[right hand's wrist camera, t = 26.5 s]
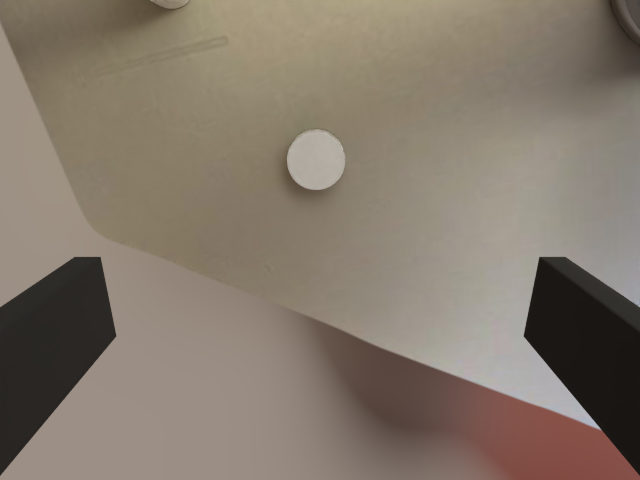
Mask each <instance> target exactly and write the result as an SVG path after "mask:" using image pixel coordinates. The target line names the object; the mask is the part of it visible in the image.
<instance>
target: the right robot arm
mask: <svg viewBox="0 0 640 480" xmlns="http://www.w3.org/2000/svg"><path fill="white" fill-rule="evenodd" d="M610 1H611V4H612V8H613V11H614V14H615V16H616V18H617V20H618V22H619V24H620V25H621V27H622V28H623V30H624V31H625V32H626V33H627V35H628V36H629V37H630V38H631V39H632V40H634V41H635V42H636V43H637V44H639V45H640V0H610ZM115 337H116V333H115V327H114V322H113V317H112V312H111V307H110V302H109V297H108V292H107V287H106V282H105V277H104V272H103V267H102V262H101V258H100V257H74V258H73V259H71V260H70V261H68V262H67V263H65V264H64V265H62V266H61V267H59V268H58V269H56V270H55V271H53V272H52V273H51V274H49V275H48V276H46V277H45V278H43V279H42V280H40V281H39V282H37V283H36V284H34V285H33V286H31V287H30V288H28V289H27V290H25V291H24V292H22V293H21V294H19V295H18V296H16V297H15V298H13V299H12V300H11V301H9V302H7V303H6V304H4V305H3V306H2V307H0V475H1V474H2V473H3V472H4V470H5V469H6V468H7V467H8V466H9V464H10V463H11V462H12V461H13V460H14V458H15V457H16V456H17V455H18V454H19V452H20V451H21V450H22V449H23V448H24V446H25V445H26V444H27V443H28V442H29V440H30V439H31V438H32V437H33V436H34V434H35V433H36V432H37V431H38V430H39V428H40V427H41V426H42V425H43V424H44V422H45V421H46V420H47V419H48V418H49V416H50V415H51V414H52V413H53V412H54V410H55V409H56V408H57V407H58V406H59V404H60V403H61V402H62V401H63V400H64V398H65V397H66V396H67V395H68V394H69V392H70V391H71V390H72V389H73V388H74V386H75V385H76V384H77V383H78V382H79V380H80V379H81V378H82V377H83V376H84V374H85V373H86V372H87V371H88V370H89V368H90V367H91V366H92V365H93V364H94V362H95V361H96V360H97V359H98V358H99V356H100V355H101V354H102V353H103V352H104V350H105V349H106V348H107V347H108V345H109V344H110V343H111V342H112V341H113V340H114V338H115ZM524 337H525V338H526V340H527V341H528V342H529V343H530V344H531V346H532V347H533V348H534V349H535V350H536V352H537V353H538V354H539V355H540V356H541V358H542V359H543V360H544V361H545V362H546V364H547V365H548V366H549V367H550V368H551V370H552V371H553V372H554V373H555V374H556V376H557V377H558V378H559V379H560V380H561V382H562V383H563V384H564V385H565V386H566V388H567V389H568V390H569V391H570V392H571V394H572V395H573V396H574V397H575V398H576V400H577V401H578V402H579V403H580V404H581V406H582V407H583V408H584V409H585V410H586V412H587V413H588V414H589V415H590V416H591V418H592V419H593V420H594V421H595V422H596V424H597V425H598V426H599V427H600V428H601V430H602V431H603V432H604V433H605V434H606V436H607V437H608V438H609V439H610V440H611V442H612V443H613V444H614V445H615V446H616V448H617V449H618V450H619V451H620V452H621V454H622V455H623V456H624V457H625V458H626V460H627V461H628V462H629V463H630V464H631V466H632V467H633V468H634V469H635V470H636V472H637V473H638V474H639V475H640V307H638V306H637V305H636V304H634V303H633V302H631V301H630V300H628V299H627V298H625V297H624V296H622V295H621V294H619V293H618V292H616V291H615V290H613V289H612V288H610V287H609V286H607V285H606V284H604V283H603V282H601V281H600V280H598V279H597V278H595V277H594V276H593V275H591V274H590V273H588V272H587V271H585V270H584V269H582V268H581V267H579V266H578V265H576V264H575V263H573V262H572V261H570V260H569V259H567V258H566V257H539V262H538V267H537V272H536V277H535V282H534V287H533V292H532V297H531V302H530V307H529V312H528V317H527V322H526V327H525V332H524Z"/></svg>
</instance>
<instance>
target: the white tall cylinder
mask: <svg viewBox="0 0 640 480" xmlns="http://www.w3.org/2000/svg"><path fill="white" fill-rule="evenodd" d="M150 1H152V2H154V3H156V4H158V5H159V6H162V7H164V8H168V9H175V8H179V7H182V6H184V5H185V4H187V3H188V2H189V0H150Z"/></svg>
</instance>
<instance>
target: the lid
mask: <svg viewBox="0 0 640 480" xmlns="http://www.w3.org/2000/svg"><path fill="white" fill-rule="evenodd" d="M342 147H343V146H342V144H340V142H339V140H338V139H337V138H336V137H335V136H334V134H333V135H332V134H331V133H329V132H328V131H324V130H322V129H321V130H319V129H314V130H308V131H306V132H304V133H303V132H302V134H300V135H299V136H297V137H296V139H295V140H294V141H292V145H291V146H290V147H289V151H288V154H287V161H286V162H287V166H288V170H289V173H290V175H291V176H292V178H293V179H294V180H295V181H296V182H297V183H298V184H299V185H301V186H302V187H304V188H307V189H310V190H322V189H325V188H328V187H330V186H332V185H333V184H334V183H336V182H337V181H338V179H339V178H340V177H341V175H342V173H343V171H344V167H345V160H346V158H345V155H344V154H345V152H344V150H343V149H342Z"/></svg>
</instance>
